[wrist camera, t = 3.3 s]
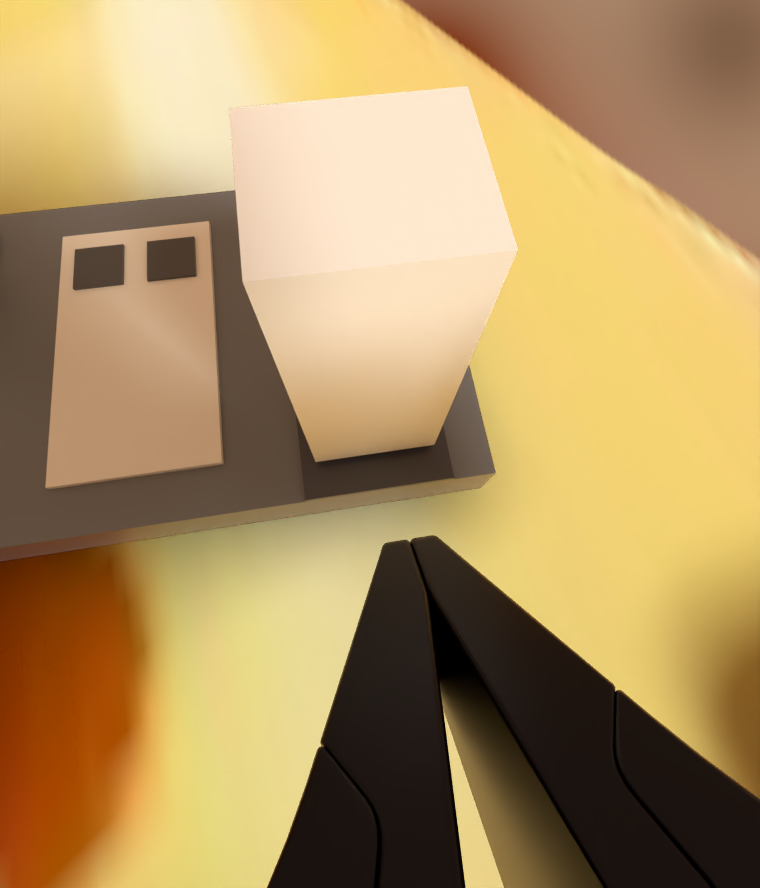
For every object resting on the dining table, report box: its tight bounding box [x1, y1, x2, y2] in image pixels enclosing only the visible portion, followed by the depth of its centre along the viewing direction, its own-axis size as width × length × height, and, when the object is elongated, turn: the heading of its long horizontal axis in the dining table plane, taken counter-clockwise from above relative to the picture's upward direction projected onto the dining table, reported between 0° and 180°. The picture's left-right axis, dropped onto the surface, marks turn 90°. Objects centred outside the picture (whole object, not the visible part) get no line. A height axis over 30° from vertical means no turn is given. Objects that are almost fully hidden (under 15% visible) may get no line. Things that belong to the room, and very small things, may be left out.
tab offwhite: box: [229, 86, 518, 462], centre depth 10 cm, size 3×4×8 cm
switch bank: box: [0, 191, 495, 562], centre depth 16 cm, size 12×21×2 cm, turn 99°
